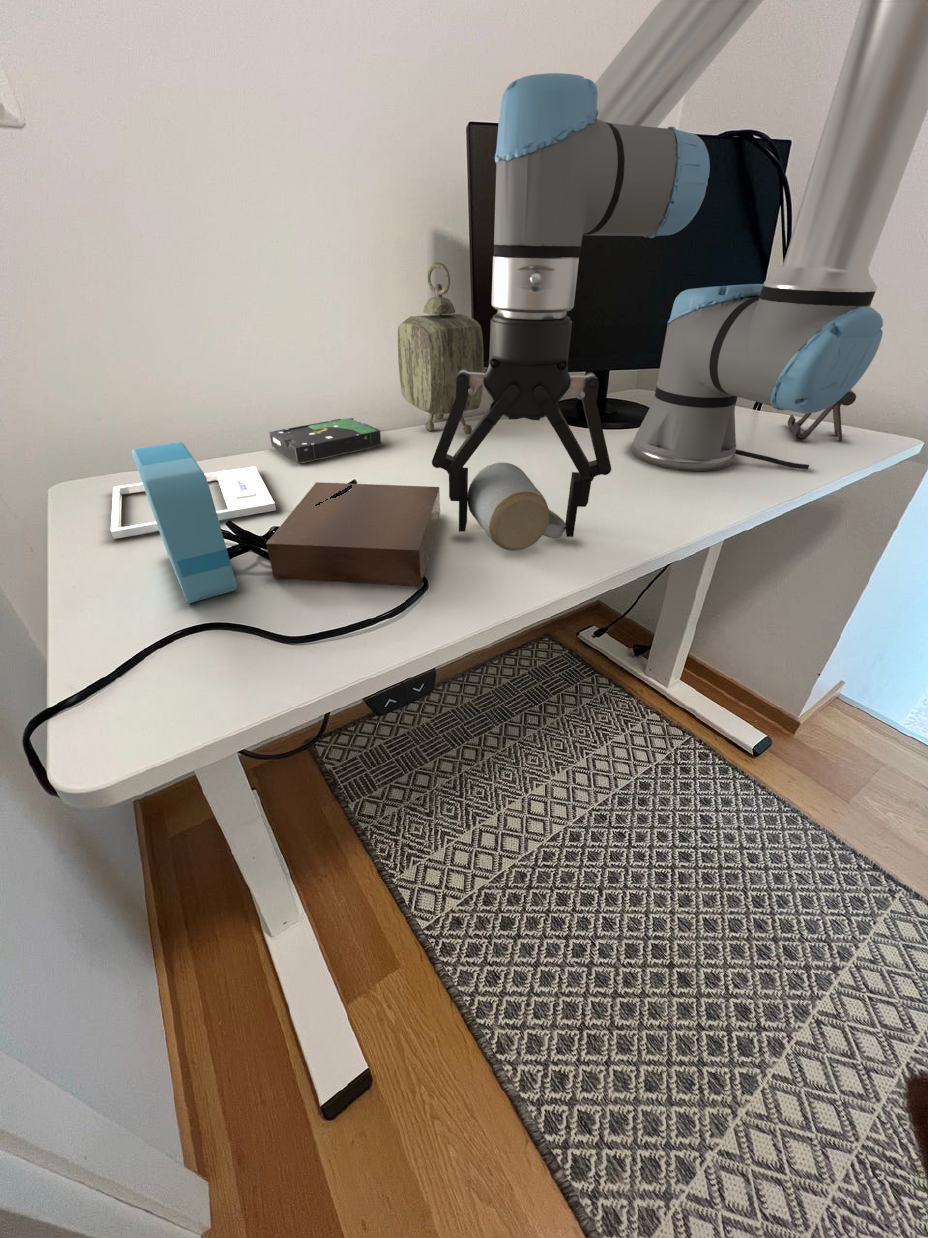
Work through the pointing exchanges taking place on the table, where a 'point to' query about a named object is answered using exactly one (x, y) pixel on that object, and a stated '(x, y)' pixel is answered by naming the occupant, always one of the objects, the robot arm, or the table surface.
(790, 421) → the tablet stand
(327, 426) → the disk drive
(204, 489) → the blue rounded block
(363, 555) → the walnut riser
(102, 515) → the table surface
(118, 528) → the photo frame
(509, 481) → the ceramic mug
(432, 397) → the tabletop clock
